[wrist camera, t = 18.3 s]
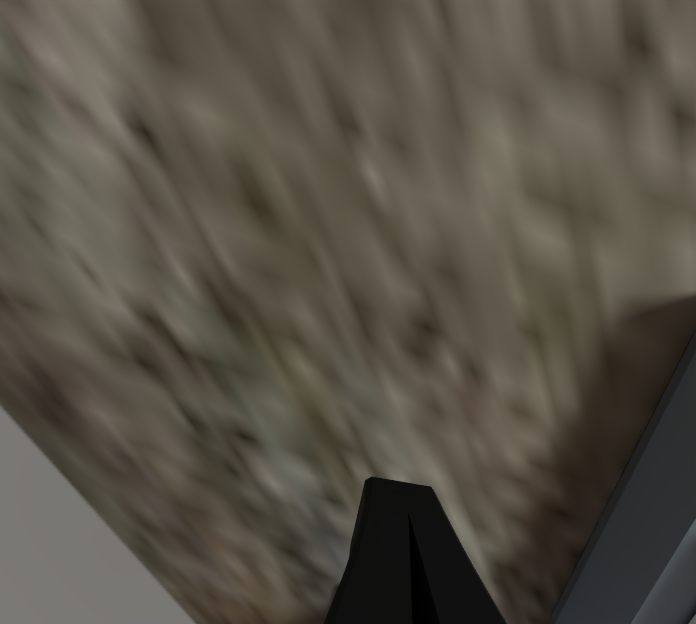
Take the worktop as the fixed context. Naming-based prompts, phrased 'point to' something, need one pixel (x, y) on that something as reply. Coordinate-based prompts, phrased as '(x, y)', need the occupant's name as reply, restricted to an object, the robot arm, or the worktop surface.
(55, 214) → the worktop surface
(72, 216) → the worktop surface
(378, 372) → the worktop surface
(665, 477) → the gray storage bin
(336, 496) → the worktop surface
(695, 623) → the cover
